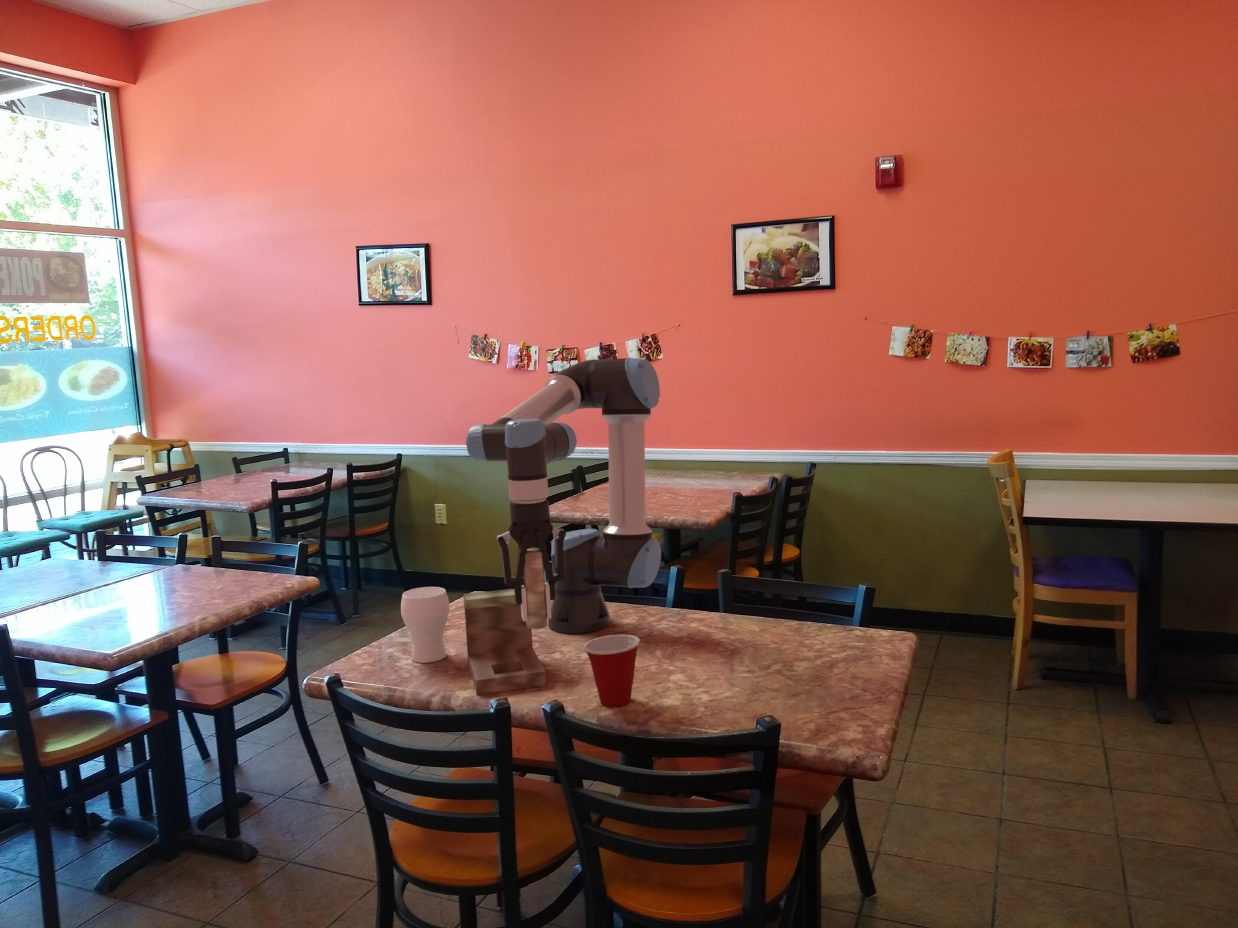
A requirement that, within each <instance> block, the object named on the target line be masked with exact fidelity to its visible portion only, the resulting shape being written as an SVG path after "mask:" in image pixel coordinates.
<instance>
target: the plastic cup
mask: <svg viewBox="0 0 1238 928" xmlns="http://www.w3.org/2000/svg"><path fill="white" fill-rule="evenodd" d="M640 640H641V639H640V638H639V637H637V636H636V635H632V634H612V635H611V634H610V635H605V636H600V637H597V638H594V639H591V640H589V641H587V642H585V643H584V645H583V646H582V648H583V649H584V651H585V652H586V653H587V656H588V659H589V660H588V661H590V666H591V669H592V670H591V671H592V673H593V678H594V683H595V686H596V689H597V694H598V699H599V701H600V703H601V705H603V706H605V707H609V708H619V707H623V706H627V705H629V704H630V703H631V698H632V691H633V690H632V689H633V685H634V678H635V667H636V658H637V652H638V646H639V644H640Z"/></svg>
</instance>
